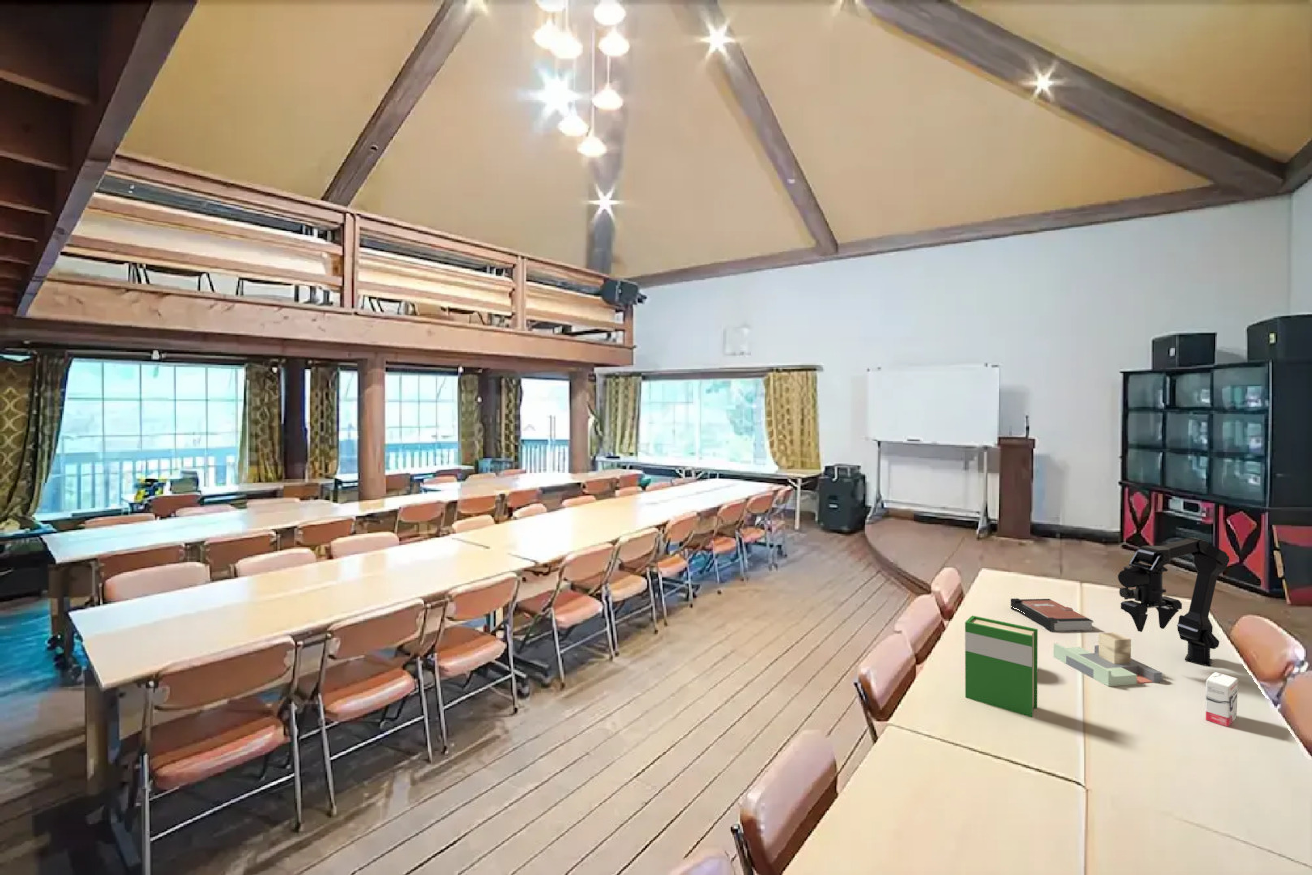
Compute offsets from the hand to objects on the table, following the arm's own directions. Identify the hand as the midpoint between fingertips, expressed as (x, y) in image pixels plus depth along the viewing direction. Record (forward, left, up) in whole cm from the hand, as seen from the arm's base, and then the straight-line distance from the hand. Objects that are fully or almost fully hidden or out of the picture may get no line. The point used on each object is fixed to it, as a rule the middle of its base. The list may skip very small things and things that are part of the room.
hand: (1150, 629), depth 194 cm
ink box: (+27, +19, -13) cm, 35 cm away
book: (-27, -36, -14) cm, 47 cm away
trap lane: (+12, -10, -13) cm, 20 cm away
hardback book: (+60, -26, -13) cm, 67 cm away
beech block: (+9, -8, -10) cm, 16 cm away
